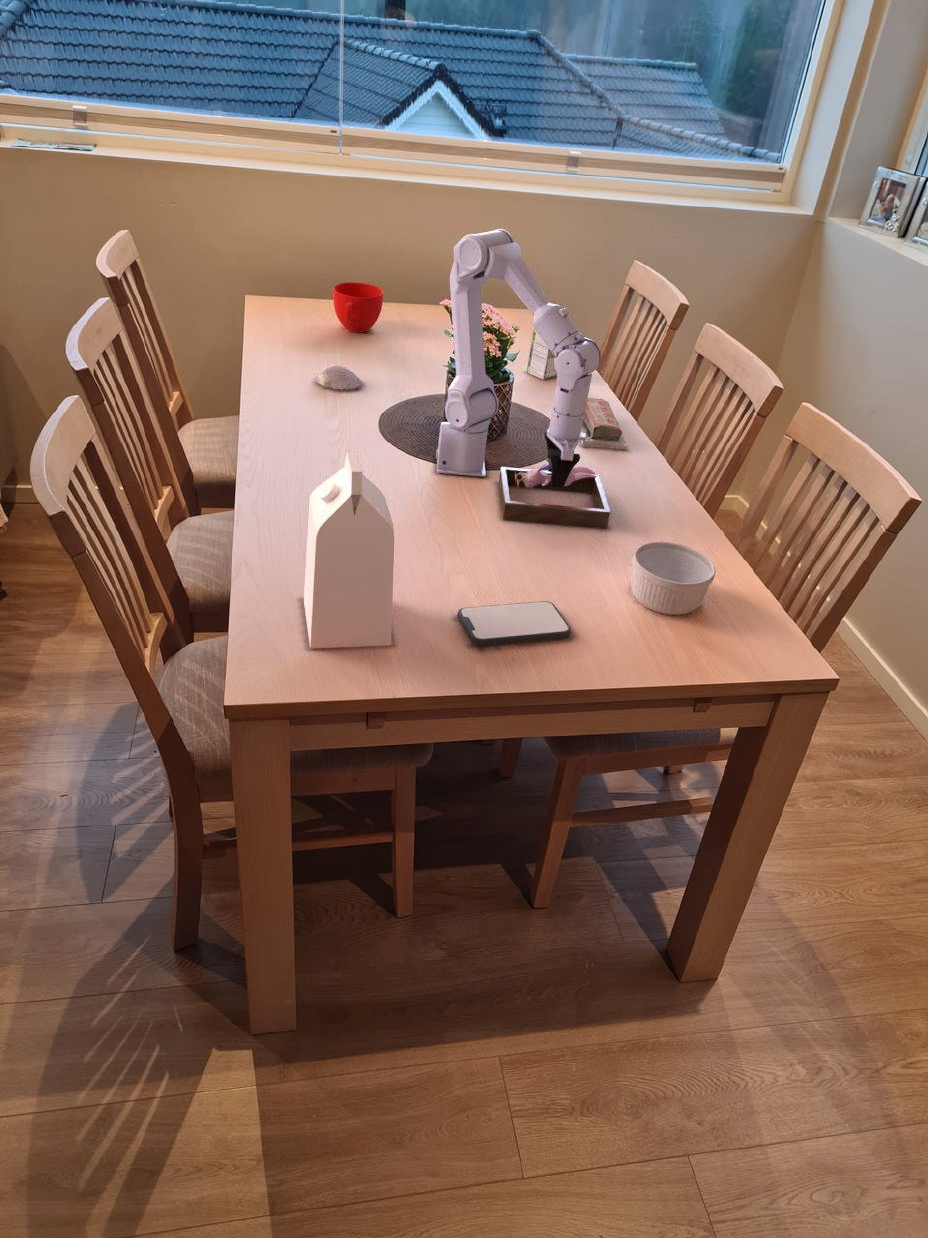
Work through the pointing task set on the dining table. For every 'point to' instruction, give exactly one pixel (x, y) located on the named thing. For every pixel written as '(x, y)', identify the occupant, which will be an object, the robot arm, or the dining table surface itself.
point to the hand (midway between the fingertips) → (555, 479)
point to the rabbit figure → (536, 478)
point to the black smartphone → (513, 623)
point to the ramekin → (670, 577)
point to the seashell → (338, 378)
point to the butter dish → (601, 426)
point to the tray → (554, 512)
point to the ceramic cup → (357, 305)
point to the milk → (349, 562)
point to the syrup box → (540, 359)
